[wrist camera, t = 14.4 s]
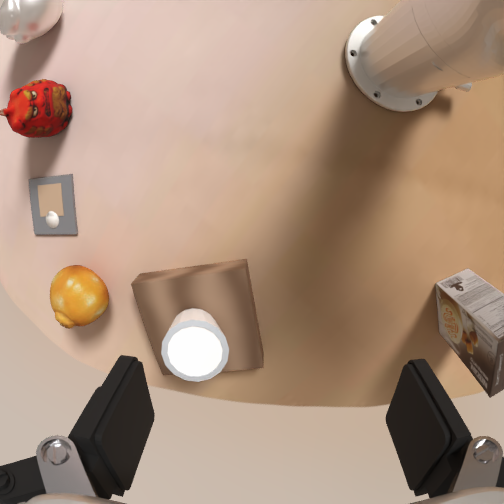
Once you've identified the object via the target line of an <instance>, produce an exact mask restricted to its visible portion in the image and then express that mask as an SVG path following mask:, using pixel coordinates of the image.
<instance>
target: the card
mask: <svg viewBox="0 0 504 504" xmlns="http://www.w3.org/2000/svg"><path fill="white" fill-rule="evenodd" d="M29 190H30V201H31V210H32V218H33V226H34V233H35V234H78V229H77V220H76V211H75V200H74V187H73V174H69V175H60V176H51V177H43V178H36V179H29Z"/></svg>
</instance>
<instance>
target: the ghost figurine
mask: <svg viewBox="0 0 504 504" xmlns="http://www.w3.org/2000/svg"><path fill="white" fill-rule="evenodd" d="M63 6H64V0H4V1H3V4H2V6H1V8H0V31H1V33H2V34H3V35H6V36H7V38H8V39H11V40H14V39H15V41H16V42H17V43H20V44H25V43H27V42H29V41H30V40H31V39H34V38H37V37H40V36H42V35H43V34H45V33H47V32H48V31H49V30H50V29H51V28H52V27H53V26H54V25H55V24H56V23H57V21H58V20H59V18H60V16H61V14H62V11H63Z"/></svg>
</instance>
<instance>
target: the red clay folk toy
mask: <svg viewBox="0 0 504 504" xmlns="http://www.w3.org/2000/svg"><path fill="white" fill-rule="evenodd" d="M70 99H71V95H70V92H68V91H67V89H66V87H65V86H64V85H62V84H57V83H56V82H54V81H50V80H46V79H42V80H38V81H37V80H36V81H32V82H30V83H29V84H27V85H25V86H23V87H22V88H18V89H16V90H14V91H13V92H11V94H10V100H9V103H8V107H7V109H6V108H5V109H2V110H0V115H2V116H6V118H7V120H8V123H9V125H10V127H11V128H12V130H13V131H14V132H16V133H19V134H21V135H23V136H26V137H33V138H34V137H49V136H53V135H55V134H57V133H59V132H60V131H62V130H63V129H65V127H66V126H67V125H68V119H69V117H70V116H71V114H72V107H71V105H70V104H69V103H70Z"/></svg>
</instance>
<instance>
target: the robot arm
mask: <svg viewBox="0 0 504 504" xmlns="http://www.w3.org/2000/svg"><path fill="white" fill-rule="evenodd" d="M371 23H372V24H373V25H372V24H371ZM350 53H352V54H353V55H354V56H351V55H350ZM345 59H346V64H347V68H348V70H349V73H350V76H351V77H352V79H353V81H354V83H355V84H356V85H357V87H358V88H359V89H360V90H361V92H362V93H363V94H364V95H366V96H367V97H368V98H369V99H370V100H372V101H373V102H375V103H376V104H378V105H379V106H382V107H384V108H386V109H389V110H393V111H399V112H407V111H414V110H418V109H421V108H422V107H424V106H426V105H428V104H429V103H430V102H431V101H432V100H433V99H434V97H435V96H436V94H437V92H438V91H439V90H443V89H447V88H451V87H455V88H456V89H460V90H463V91H466V92H468V91H470V89H471V86H472V82H476V81H481V80H485V79H489V78H494V77H497V76H500V75H503V74H504V0H400V1H399V2H398V3H397V4H396V5H395V6H394V7H393V8H392V9H391V10H390V11H389V12H388V13H387V14H386V15H385V16H374V17H370V18H367V19H365V20H363V21H361V22H360V23H359V24H358V25H357V26H356V27H355V28H354V29H353V30H352V32H351V33H350V35H349V37H348V39H347V42H346V47H345ZM374 94H376V95H377V97H375V96H374ZM416 101H417V103H416ZM153 422H154V410H153V406H152V402H151V399H150V394H149V390H148V386H147V382H146V377H145V373H144V368H143V364H142V362H140V361H138V359H137V358H136V357H132V356H124V355H121V356H120V357H119V358H118V360H117V361H116V363H115V365H114V366H113V368H112V370H111V371H110V373H109V374H108V376H107V378H106V380H105V381H104V383H103V384H102V386H101V387H98V388H97V389H96V390H95V392H94V394H93V395H92V397H91V399H90V400H89V402H88V404H87V405H86V407H85V409H84V410H83V412H82V414H81V416H80V417H79V419H78V421H77V422H76V424H75V426H74V428H73V429H72V431H71V433H70V434H69V436H68V438H67V437H64V436H58V435H57V436H51V437H48V438H46V439H44V440H43V441H42V442H41V443H40V444H39V445H38V448H37V451H36V454H37V455H36V456H34V457H31V458H27V459H24V460H20V461H17V462H14V463H10V464H6V465H3V466H0V504H125V503H121V502H117V501H112V500H109V499H110V498H111V496H112V494H115V495H118V496H122V497H123V494H124V492H125V490H129V489H130V487H131V484H132V482H133V478H134V475H135V473H136V470H137V467H138V464H139V461H140V458H141V455H142V453H143V450H144V447H145V444H146V441H147V438H148V436H149V433H150V430H151V427H152V425H153ZM386 424H387V426H388V429H389V432H390V435H391V437H392V440H393V443H394V446H395V448H396V451H397V454H398V457H399V460H400V463H401V466H402V468H403V471H404V474H405V477H406V480H407V483H408V486H409V488H410V490H414V493H415V496H420V495H423V494H427V493H428V495H429V498H430V499H426V500H423V501H418V502H414V503H410V504H504V457H502V455H503V451H502V448H501V446H500V444H499V443H498V442H497V441H496V440H495V439H493V438H491V437H486V436H480V437H477V438H474V439H473V438H472V436H471V433H470V432H469V430H468V428H467V426H466V425H465V423H464V421H463V419H462V418H461V416H460V414H459V413H458V411H457V409H456V408H455V406H454V405H453V403H452V401H451V399H450V398H449V396H448V394H447V393H446V391H445V390H444V388H443V386H442V385H441V383H440V382H439V380H438V378H437V377H436V375H435V374H434V372H433V371H432V369H431V368H430V366H429V364H428V363H427V361H426V360H425V359H417V360H410V361H409V362H408V364H406V365H404V367H403V370H402V373H401V376H400V379H399V382H398V384H397V387H396V390H395V393H394V396H393V398H392V401H391V404H390V406H389V409H388V412H387V414H386Z"/></svg>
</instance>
